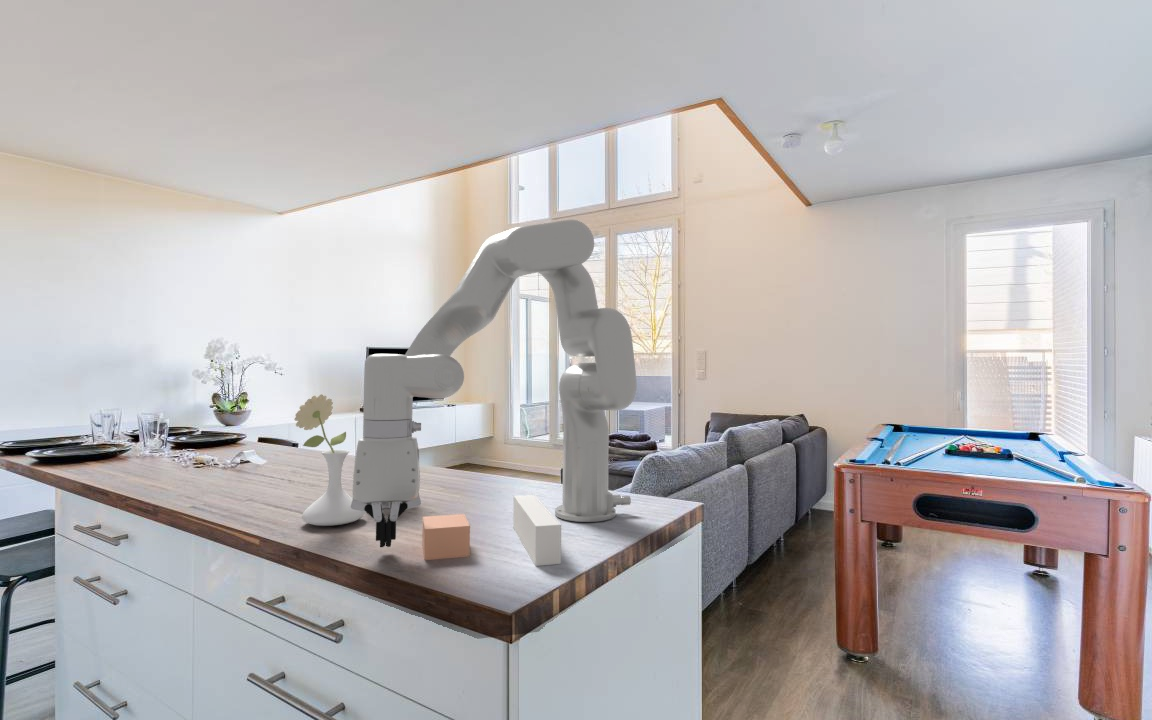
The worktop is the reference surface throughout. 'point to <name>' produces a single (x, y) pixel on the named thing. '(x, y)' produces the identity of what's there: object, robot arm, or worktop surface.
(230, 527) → the worktop surface
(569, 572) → the worktop surface
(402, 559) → the worktop surface
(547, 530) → the board
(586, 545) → the worktop surface
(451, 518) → the peach block
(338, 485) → the flower in vase
